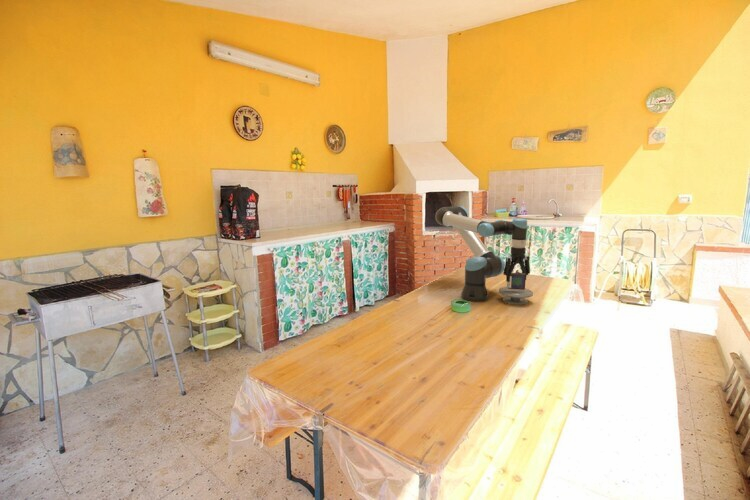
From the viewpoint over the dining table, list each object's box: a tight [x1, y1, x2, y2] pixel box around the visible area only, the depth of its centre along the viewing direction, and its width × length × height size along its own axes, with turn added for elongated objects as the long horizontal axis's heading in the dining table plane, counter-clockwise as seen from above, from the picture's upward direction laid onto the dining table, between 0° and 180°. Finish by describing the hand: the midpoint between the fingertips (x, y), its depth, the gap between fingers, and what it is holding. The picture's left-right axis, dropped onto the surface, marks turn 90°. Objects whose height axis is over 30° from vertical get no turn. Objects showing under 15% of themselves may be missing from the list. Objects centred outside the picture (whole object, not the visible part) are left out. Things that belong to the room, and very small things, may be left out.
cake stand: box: [498, 286, 534, 306], centre depth 201 cm, size 18×18×6 cm
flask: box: [508, 269, 527, 290], centre depth 199 cm, size 9×3×11 cm, turn 78°
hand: (515, 286), depth 200 cm, fingers closed on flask, 8 cm apart
